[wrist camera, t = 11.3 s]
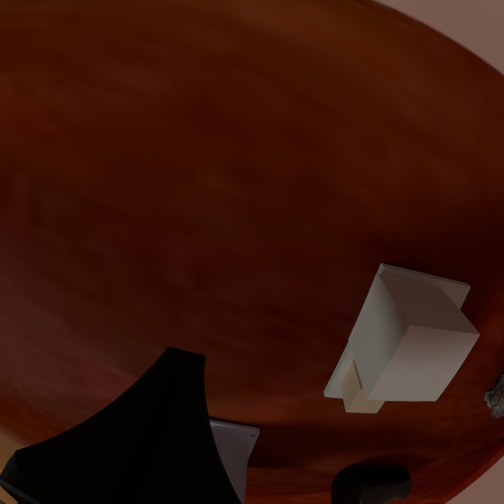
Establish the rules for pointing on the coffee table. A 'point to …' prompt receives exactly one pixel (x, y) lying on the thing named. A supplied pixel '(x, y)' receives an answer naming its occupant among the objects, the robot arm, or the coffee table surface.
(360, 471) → the coffee pot
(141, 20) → the coffee table surface
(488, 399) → the mineral rock
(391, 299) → the beige block
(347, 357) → the grey board
